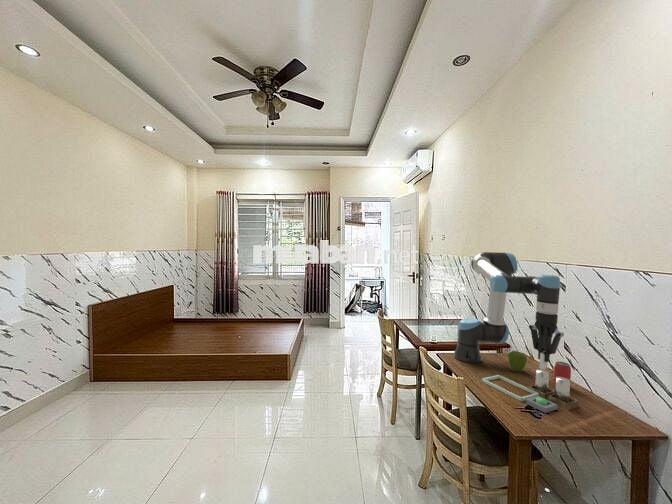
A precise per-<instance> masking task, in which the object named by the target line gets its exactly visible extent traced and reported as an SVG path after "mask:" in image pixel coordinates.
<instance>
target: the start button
mask: <svg viewBox="0 0 672 504" xmlns="http://www.w3.org/2000/svg"><path fill="white" fill-rule="evenodd" d="M536 402H537V403H539V404H541V405H543V406H545V405H547V400H546V399H544V398H541V397H536Z"/></svg>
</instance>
